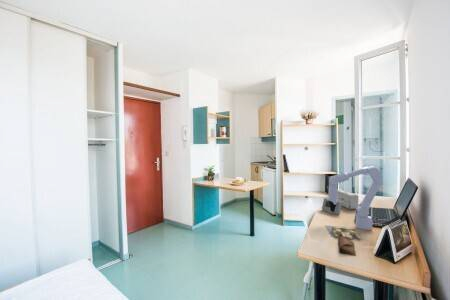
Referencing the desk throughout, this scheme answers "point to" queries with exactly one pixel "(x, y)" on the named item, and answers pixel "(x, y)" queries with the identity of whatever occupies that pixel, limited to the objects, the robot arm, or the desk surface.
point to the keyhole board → (341, 231)
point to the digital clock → (327, 207)
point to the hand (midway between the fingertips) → (332, 211)
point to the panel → (345, 232)
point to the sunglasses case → (346, 246)
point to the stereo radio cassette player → (347, 199)
